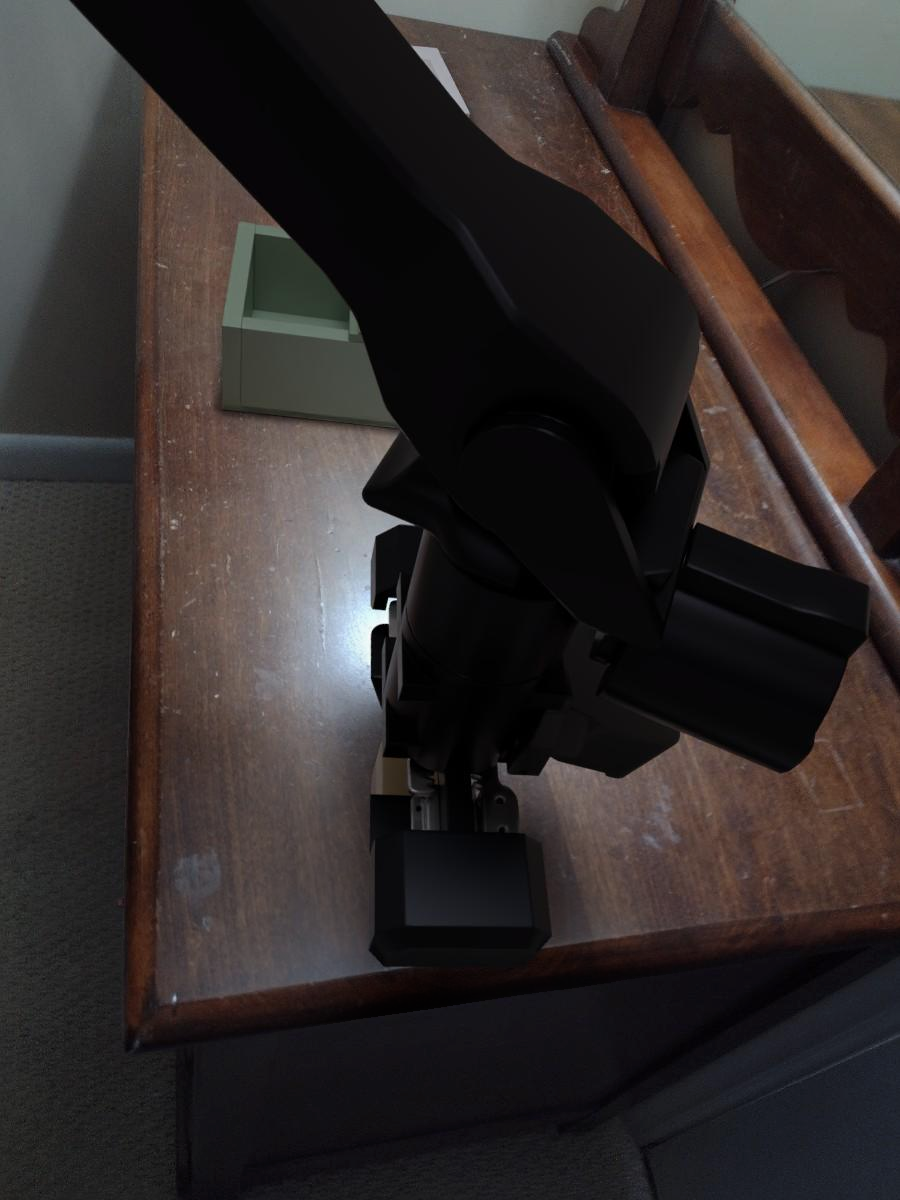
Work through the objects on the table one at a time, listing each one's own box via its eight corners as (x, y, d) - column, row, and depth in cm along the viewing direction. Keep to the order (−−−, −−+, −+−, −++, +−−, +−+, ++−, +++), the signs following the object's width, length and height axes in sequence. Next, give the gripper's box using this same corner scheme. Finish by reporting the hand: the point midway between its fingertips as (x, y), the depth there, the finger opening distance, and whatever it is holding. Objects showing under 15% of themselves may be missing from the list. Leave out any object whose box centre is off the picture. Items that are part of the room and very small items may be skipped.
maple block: (371, 855, 43) (382, 820, 40) (371, 777, 45) (381, 738, 42) (455, 857, 44) (472, 823, 40) (450, 780, 46) (467, 742, 43)
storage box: (222, 409, 64) (221, 317, 58) (238, 304, 71) (238, 213, 65) (449, 434, 66) (470, 348, 60) (442, 331, 74) (461, 245, 68)
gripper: (775, 888, 27) (606, 1018, 39) (659, 449, 39) (556, 655, 51) (403, 880, 25) (346, 1019, 37) (395, 419, 37) (353, 641, 49)
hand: (415, 808), depth 44 cm, fingers closed on maple block, 4 cm apart
